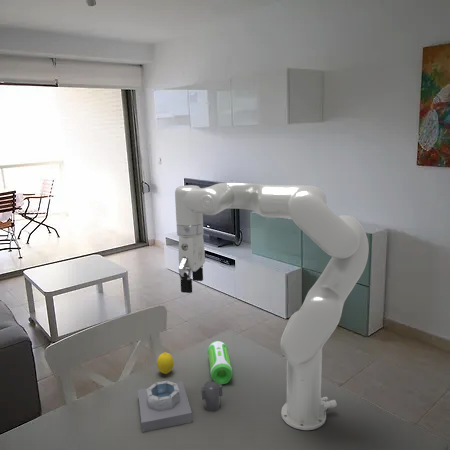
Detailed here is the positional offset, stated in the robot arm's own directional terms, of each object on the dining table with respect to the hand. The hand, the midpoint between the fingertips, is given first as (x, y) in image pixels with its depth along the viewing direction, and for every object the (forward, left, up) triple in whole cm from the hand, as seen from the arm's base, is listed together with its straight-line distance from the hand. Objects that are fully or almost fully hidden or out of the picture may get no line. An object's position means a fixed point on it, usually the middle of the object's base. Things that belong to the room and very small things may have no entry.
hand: (192, 286), depth 124 cm
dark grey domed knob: (-3, +6, -36) cm, 37 cm away
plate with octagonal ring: (+11, +3, -36) cm, 38 cm away
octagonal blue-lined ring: (+11, +3, -33) cm, 35 cm away
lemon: (+8, -16, -37) cm, 40 cm away
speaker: (-10, -12, -37) cm, 40 cm away
